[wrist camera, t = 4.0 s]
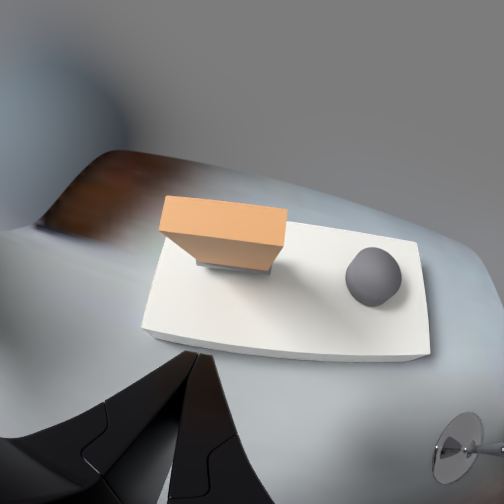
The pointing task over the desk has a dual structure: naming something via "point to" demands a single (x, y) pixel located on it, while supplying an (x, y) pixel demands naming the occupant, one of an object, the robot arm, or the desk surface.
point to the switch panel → (292, 302)
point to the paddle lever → (225, 233)
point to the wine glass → (461, 448)
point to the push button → (373, 276)
